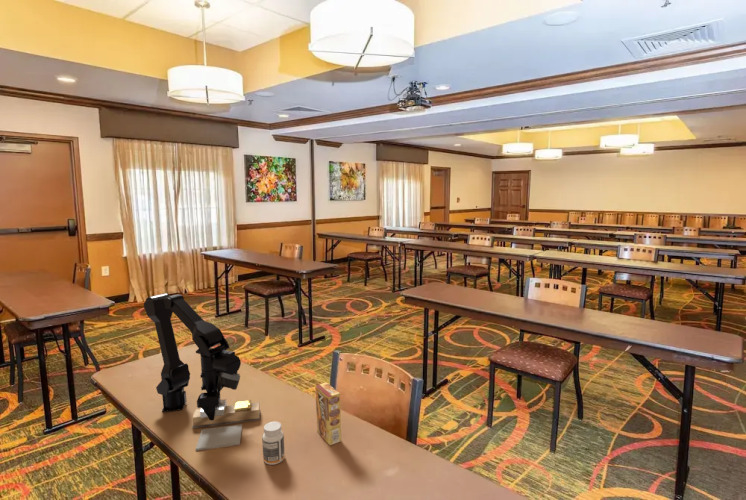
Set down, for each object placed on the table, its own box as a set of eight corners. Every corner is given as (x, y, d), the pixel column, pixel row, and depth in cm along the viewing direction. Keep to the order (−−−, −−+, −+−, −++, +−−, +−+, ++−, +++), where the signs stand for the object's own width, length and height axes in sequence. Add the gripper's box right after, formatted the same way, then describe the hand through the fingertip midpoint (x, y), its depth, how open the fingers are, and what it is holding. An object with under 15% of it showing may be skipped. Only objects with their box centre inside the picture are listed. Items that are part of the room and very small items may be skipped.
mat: (195, 450, 118) (195, 448, 118) (202, 431, 128) (201, 429, 128) (239, 444, 121) (239, 442, 121) (242, 426, 131) (242, 424, 130)
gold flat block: (250, 409, 133) (234, 411, 132) (251, 402, 137) (236, 404, 136) (250, 406, 133) (234, 408, 132) (251, 399, 137) (235, 401, 136)
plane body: (192, 428, 129) (191, 418, 129) (195, 419, 135) (195, 409, 134) (259, 420, 134) (259, 410, 133) (260, 411, 139) (259, 401, 139)
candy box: (342, 441, 122) (341, 393, 120) (329, 446, 120) (328, 397, 118) (328, 427, 129) (327, 381, 127) (316, 432, 127) (314, 385, 125)
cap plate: (200, 417, 129) (200, 411, 129) (204, 407, 135) (203, 401, 135) (224, 415, 131) (223, 409, 130) (226, 404, 137) (226, 399, 137)
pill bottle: (273, 450, 118) (272, 418, 117) (288, 456, 115) (287, 423, 114) (259, 461, 113) (257, 428, 112) (274, 468, 110) (272, 434, 109)
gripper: (234, 377, 124) (237, 426, 126) (240, 354, 142) (242, 396, 144) (194, 381, 121) (198, 431, 123) (205, 357, 139) (208, 400, 141)
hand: (214, 413), depth 133 cm, fingers open, 8 cm apart
